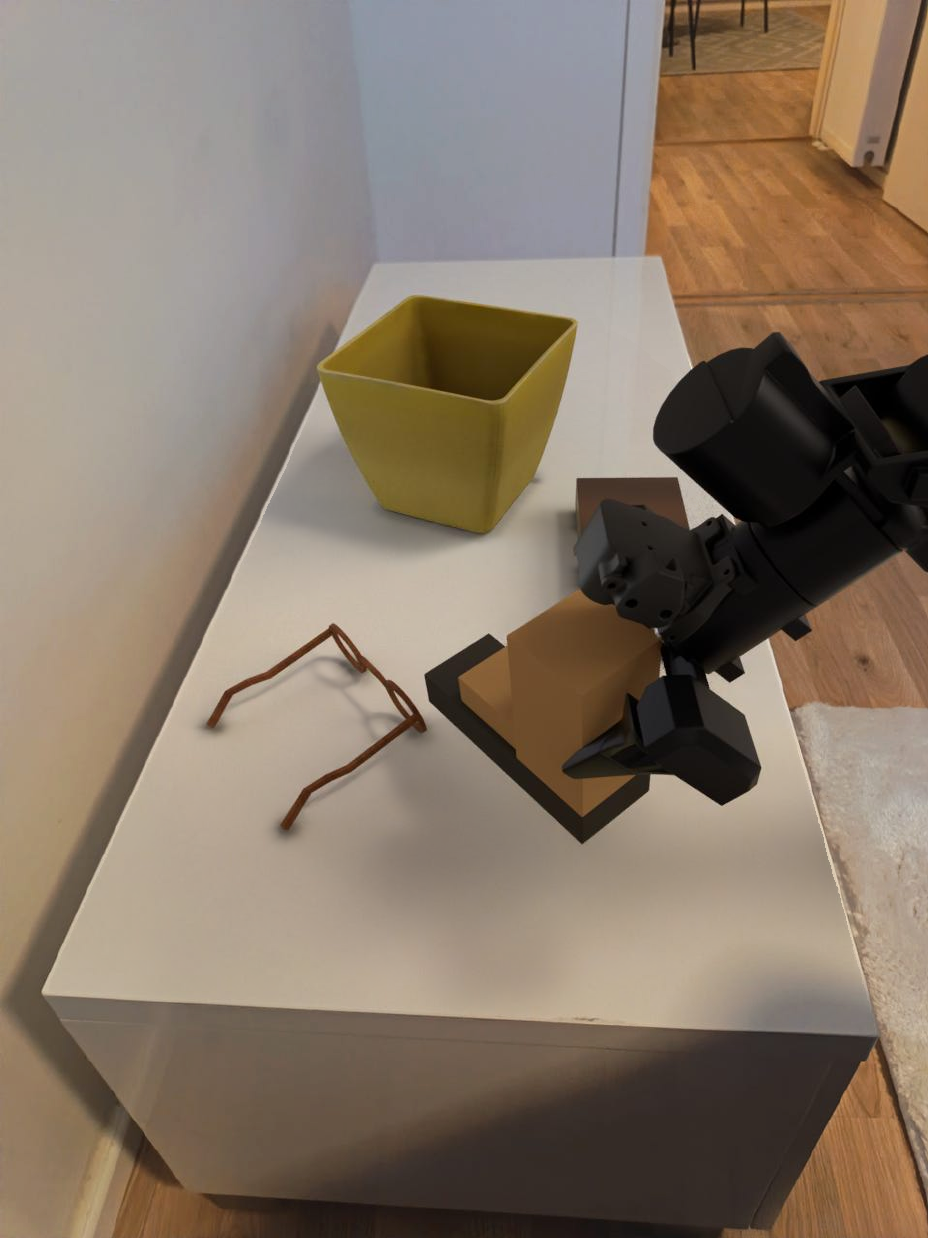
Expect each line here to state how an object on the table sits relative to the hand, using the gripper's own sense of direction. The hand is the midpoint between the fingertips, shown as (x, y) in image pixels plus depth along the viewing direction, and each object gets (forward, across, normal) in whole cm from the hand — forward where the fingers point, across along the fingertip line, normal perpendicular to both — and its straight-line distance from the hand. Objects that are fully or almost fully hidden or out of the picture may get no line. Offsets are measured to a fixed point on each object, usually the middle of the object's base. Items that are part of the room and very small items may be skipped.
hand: (560, 714), depth 52 cm
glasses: (+22, -10, -4) cm, 25 cm away
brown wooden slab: (+3, -28, +16) cm, 33 cm away
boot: (+6, -4, +4) cm, 9 cm away
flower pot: (+14, -44, +4) cm, 46 cm away
